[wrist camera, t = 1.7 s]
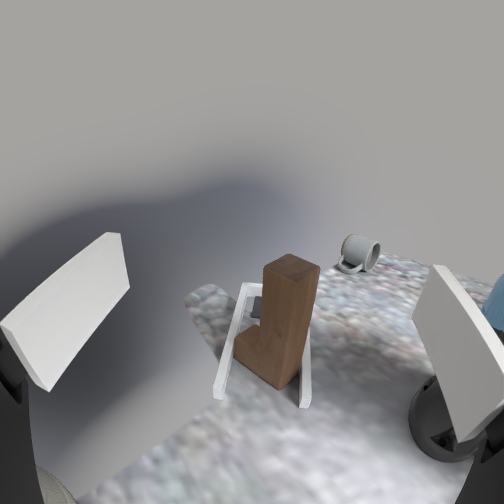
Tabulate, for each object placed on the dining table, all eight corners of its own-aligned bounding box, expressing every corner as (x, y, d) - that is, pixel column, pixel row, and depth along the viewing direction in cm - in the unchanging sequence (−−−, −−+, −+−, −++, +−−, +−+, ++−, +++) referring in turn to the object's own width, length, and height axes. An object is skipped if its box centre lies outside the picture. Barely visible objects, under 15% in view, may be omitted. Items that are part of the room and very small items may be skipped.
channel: (305, 298, 53) (306, 287, 52) (308, 408, 31) (311, 398, 30) (242, 292, 55) (242, 282, 53) (213, 398, 32) (212, 388, 31)
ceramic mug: (351, 254, 71) (356, 227, 67) (377, 266, 65) (384, 239, 62) (329, 267, 65) (334, 238, 61) (357, 281, 59) (364, 251, 56)
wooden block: (233, 357, 39) (232, 250, 31) (254, 343, 42) (259, 239, 34) (279, 391, 34) (297, 282, 26) (299, 373, 37) (322, 265, 29)
